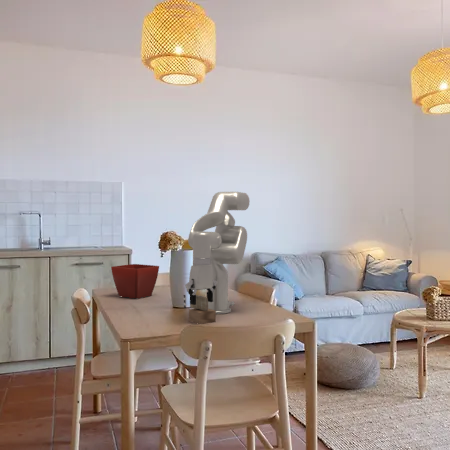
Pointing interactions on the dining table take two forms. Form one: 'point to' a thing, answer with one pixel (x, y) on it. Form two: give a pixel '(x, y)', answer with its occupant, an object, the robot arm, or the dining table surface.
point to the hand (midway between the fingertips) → (201, 303)
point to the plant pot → (135, 279)
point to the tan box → (202, 316)
